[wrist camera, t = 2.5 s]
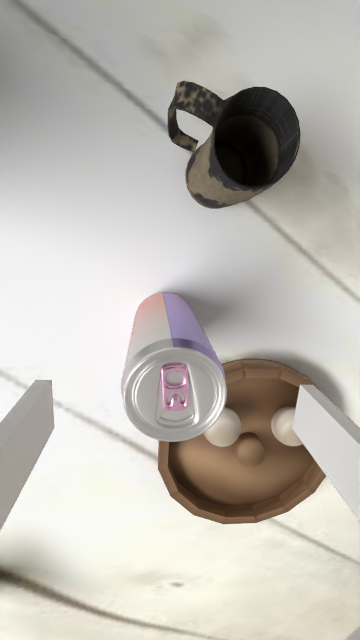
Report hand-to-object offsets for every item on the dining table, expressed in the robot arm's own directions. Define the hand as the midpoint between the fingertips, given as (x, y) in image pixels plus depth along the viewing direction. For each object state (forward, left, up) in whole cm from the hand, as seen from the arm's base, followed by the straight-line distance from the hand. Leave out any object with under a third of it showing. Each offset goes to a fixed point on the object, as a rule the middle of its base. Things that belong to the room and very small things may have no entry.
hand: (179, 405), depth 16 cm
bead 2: (+10, +14, -14) cm, 22 cm away
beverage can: (0, 0, -16) cm, 15 cm away
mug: (-14, +3, -16) cm, 21 cm away
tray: (+14, +10, -15) cm, 23 cm away
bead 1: (+10, +6, -14) cm, 18 cm away
